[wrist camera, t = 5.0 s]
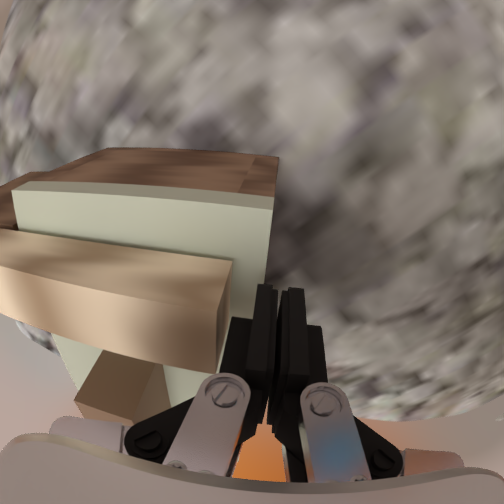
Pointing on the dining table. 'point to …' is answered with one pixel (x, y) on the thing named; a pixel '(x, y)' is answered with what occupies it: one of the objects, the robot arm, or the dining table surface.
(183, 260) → the bar
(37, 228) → the lid
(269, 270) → the dining table surface
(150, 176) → the brown wooden box
